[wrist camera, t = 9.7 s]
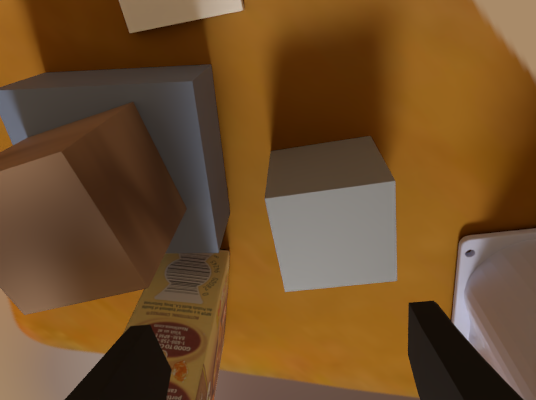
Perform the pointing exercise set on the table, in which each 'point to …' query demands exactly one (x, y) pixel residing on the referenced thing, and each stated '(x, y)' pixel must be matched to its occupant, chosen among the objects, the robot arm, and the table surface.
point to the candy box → (188, 319)
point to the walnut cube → (84, 212)
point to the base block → (157, 123)
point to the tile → (173, 11)
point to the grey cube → (332, 214)
